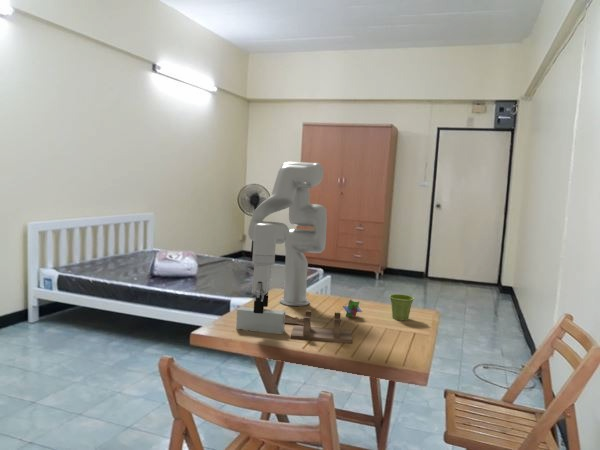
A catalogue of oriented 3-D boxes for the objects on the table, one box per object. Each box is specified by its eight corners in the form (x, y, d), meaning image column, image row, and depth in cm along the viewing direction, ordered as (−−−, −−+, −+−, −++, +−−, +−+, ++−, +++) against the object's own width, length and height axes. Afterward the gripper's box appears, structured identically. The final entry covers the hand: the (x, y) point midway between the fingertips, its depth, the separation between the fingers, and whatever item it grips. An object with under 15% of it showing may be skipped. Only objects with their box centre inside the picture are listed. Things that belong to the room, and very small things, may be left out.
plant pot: (406, 323, 180) (407, 301, 180) (383, 318, 186) (385, 296, 185) (416, 318, 188) (418, 297, 187) (394, 313, 194) (396, 293, 193)
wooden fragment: (317, 323, 175) (317, 320, 175) (302, 330, 166) (302, 327, 166) (261, 310, 189) (261, 308, 189) (244, 316, 180) (244, 313, 179)
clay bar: (239, 326, 166) (240, 306, 166) (284, 331, 164) (285, 311, 163) (236, 329, 162) (237, 309, 162) (281, 334, 160) (282, 314, 159)
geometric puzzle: (366, 314, 182) (361, 295, 186) (350, 315, 179) (346, 296, 183) (358, 321, 187) (354, 302, 191) (343, 322, 185) (338, 303, 189)
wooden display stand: (293, 328, 167) (294, 308, 166) (350, 332, 165) (352, 313, 165) (290, 338, 156) (291, 317, 155) (351, 343, 154) (353, 322, 154)
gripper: (256, 255, 170) (254, 303, 171) (247, 262, 152) (245, 315, 153) (277, 257, 169) (275, 304, 170) (271, 264, 152) (268, 316, 153)
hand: (260, 309), depth 162 cm, fingers open, 9 cm apart
